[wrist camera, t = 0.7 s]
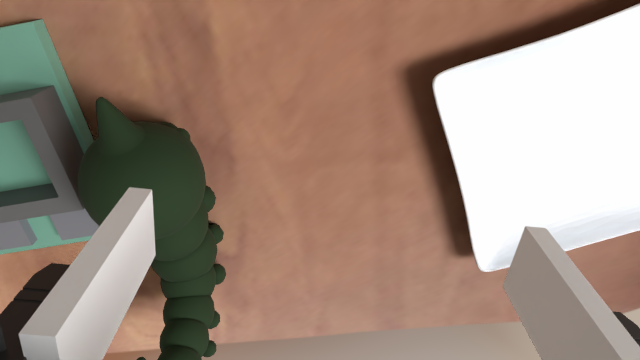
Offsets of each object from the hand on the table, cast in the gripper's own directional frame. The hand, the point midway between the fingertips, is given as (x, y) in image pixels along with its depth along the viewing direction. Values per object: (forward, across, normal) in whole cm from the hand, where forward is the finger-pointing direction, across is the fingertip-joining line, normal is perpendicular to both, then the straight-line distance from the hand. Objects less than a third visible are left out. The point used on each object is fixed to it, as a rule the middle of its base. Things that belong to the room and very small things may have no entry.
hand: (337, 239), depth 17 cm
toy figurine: (+26, -12, -14) cm, 32 cm away
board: (+26, -27, -10) cm, 39 cm away
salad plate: (+26, +22, -4) cm, 35 cm away
